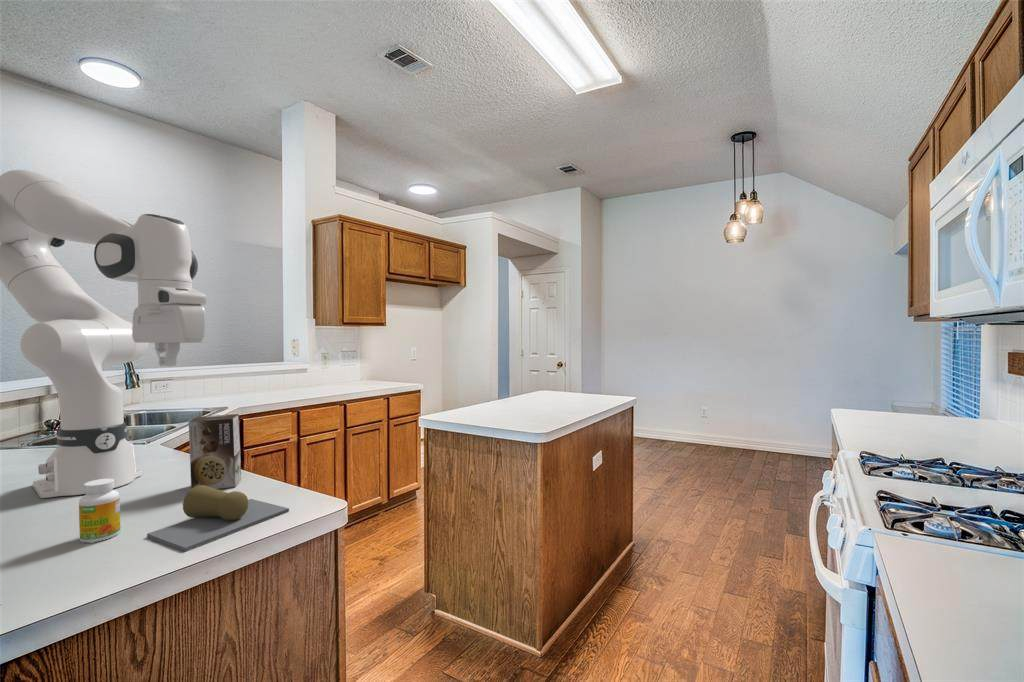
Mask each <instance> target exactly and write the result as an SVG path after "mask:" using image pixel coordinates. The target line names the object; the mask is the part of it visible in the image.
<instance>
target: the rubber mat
mask: <svg viewBox="0 0 1024 682" xmlns="http://www.w3.org/2000/svg"><path fill="white" fill-rule="evenodd" d="M248 502H249V505H248V509H247V511H246V512H245V514H244V515H243V516H242V517H240V518H239V519H237V520H233V521H227V520H224V519H222V518H221V517H195V518H190V519H187V520H183V521H181V522H178V523H175V524H172V525H169V526H166V527H163V528H160V529H157V530H154V531H151V532H148V533H146V537H147V538H149V539H150V540H151V539H152V540H155V541H157V542H160V543H162V544H164V545H167V546H170V547H173V548H175V549H177V550H181V551H183V552H188V551H190V550H193V549H195V548H198V547H200V546H203V545H205V544H208V543H212V542H214V541H216V540H219V539H222V538H224V537H226V536H229V535H231V534H234V533H237V532H240V531H242V530H245V529H246V528H250V527H253V526H255V525H257V524H260V523H263V522H266V521H269V520H270V518H271V519H272V518H275V517H279V516H280V514H281V515H284V514H285V513H288V511H289V512H290V508H289V507H285V506H283V505H282V506H281V505H277V504H273V503H270V502H266V501H262V500H258V499H253V498H250V499H249V498H248Z"/></svg>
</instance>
